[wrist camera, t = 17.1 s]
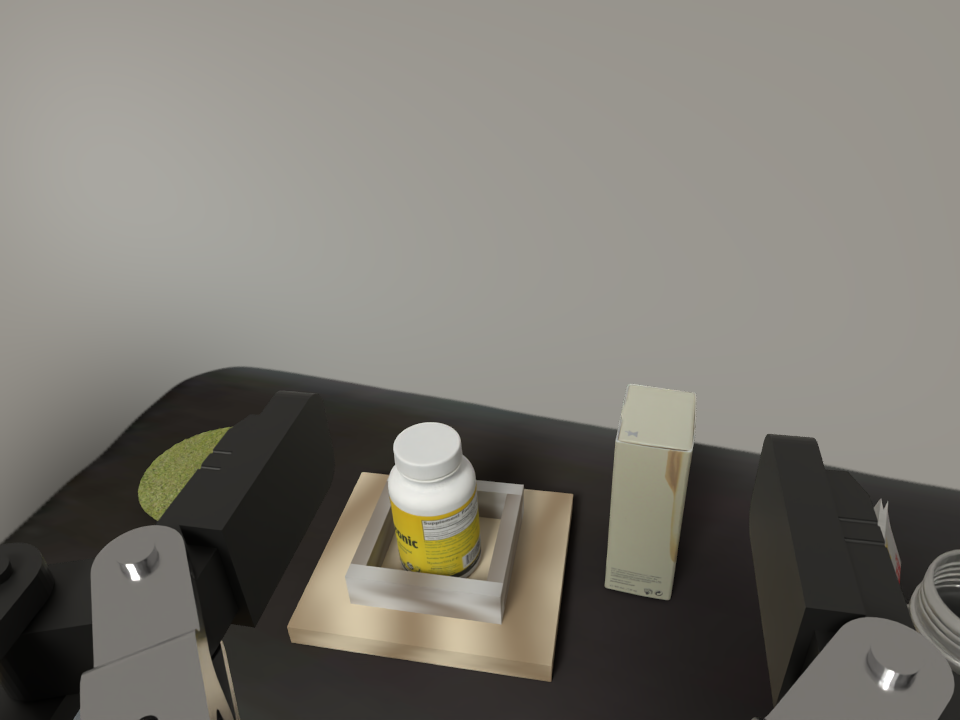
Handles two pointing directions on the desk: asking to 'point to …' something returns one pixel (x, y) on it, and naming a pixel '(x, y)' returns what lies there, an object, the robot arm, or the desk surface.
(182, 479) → the green disc with hole
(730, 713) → the desk surface
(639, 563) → the skincare box
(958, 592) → the plastic bottle
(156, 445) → the desk surface
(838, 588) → the robot arm
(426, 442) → the supplement bottle
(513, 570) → the socket board
